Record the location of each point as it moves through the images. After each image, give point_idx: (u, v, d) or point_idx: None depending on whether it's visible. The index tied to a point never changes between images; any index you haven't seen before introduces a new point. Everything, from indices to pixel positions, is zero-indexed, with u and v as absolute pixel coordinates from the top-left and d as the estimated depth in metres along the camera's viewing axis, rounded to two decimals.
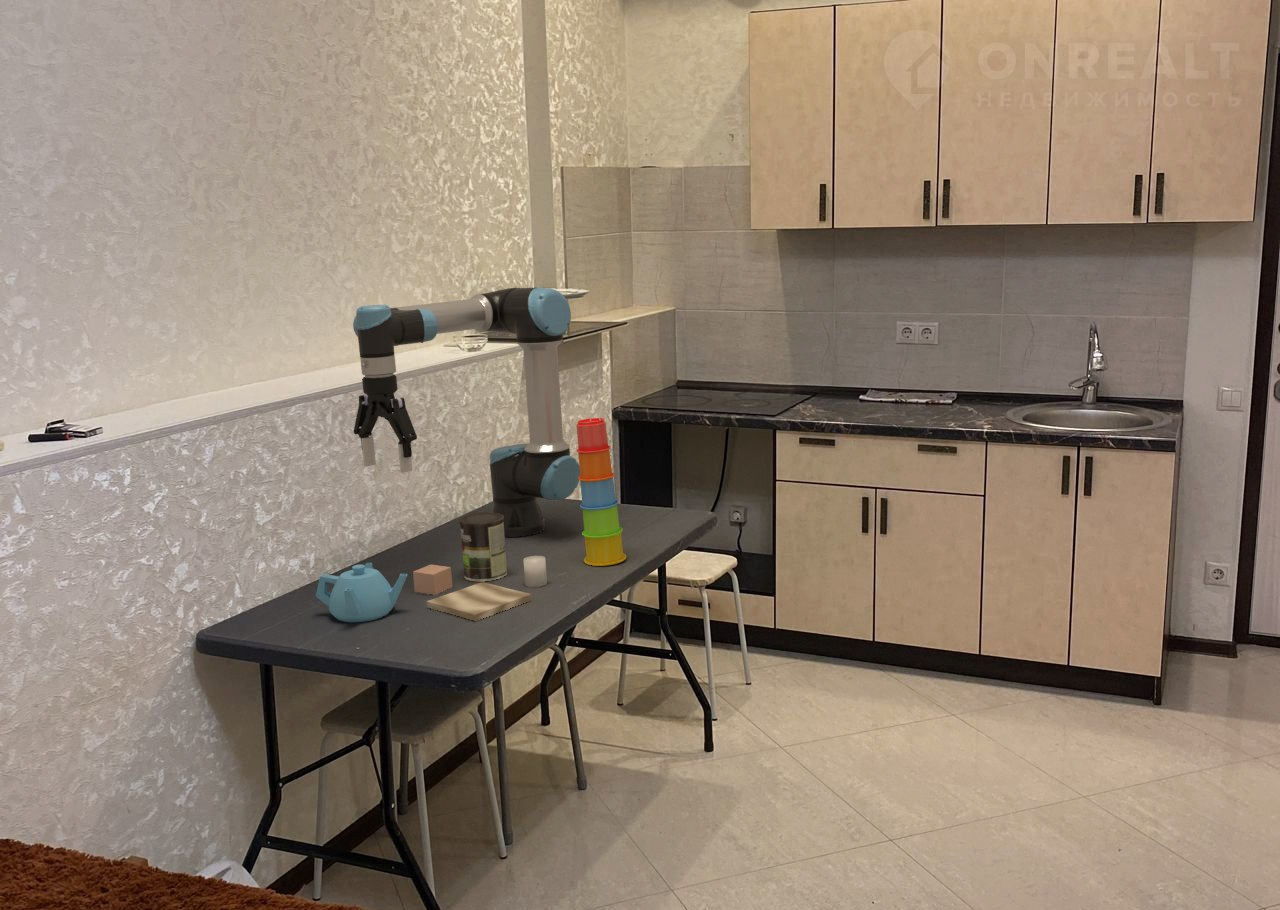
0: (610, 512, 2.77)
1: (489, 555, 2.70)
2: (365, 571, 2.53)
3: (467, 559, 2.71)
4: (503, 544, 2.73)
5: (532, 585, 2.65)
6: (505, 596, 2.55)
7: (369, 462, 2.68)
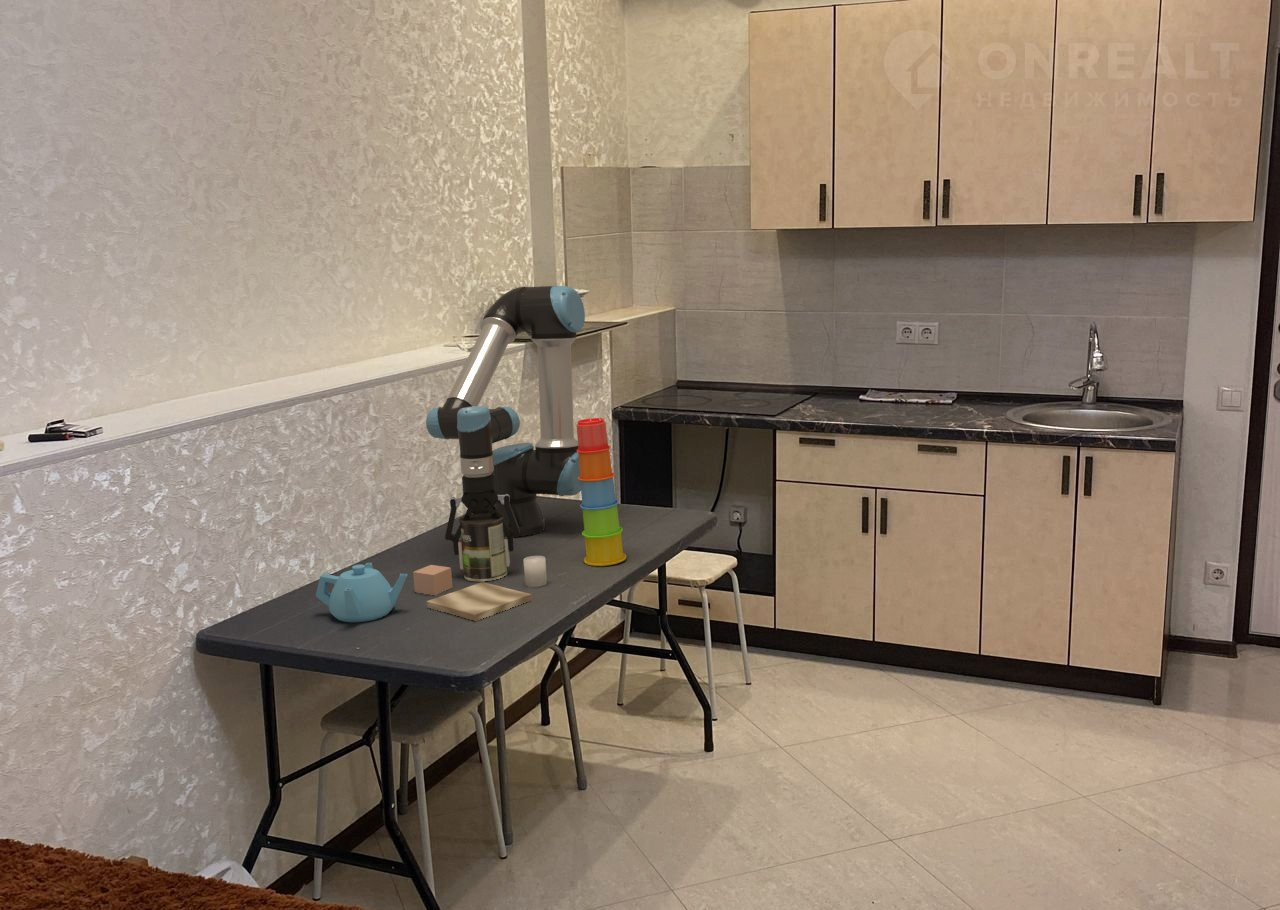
0: (610, 512, 2.77)
1: (489, 555, 2.70)
2: (365, 571, 2.53)
3: (467, 559, 2.71)
4: (503, 544, 2.73)
5: (532, 585, 2.65)
6: (505, 596, 2.55)
7: (463, 564, 2.74)
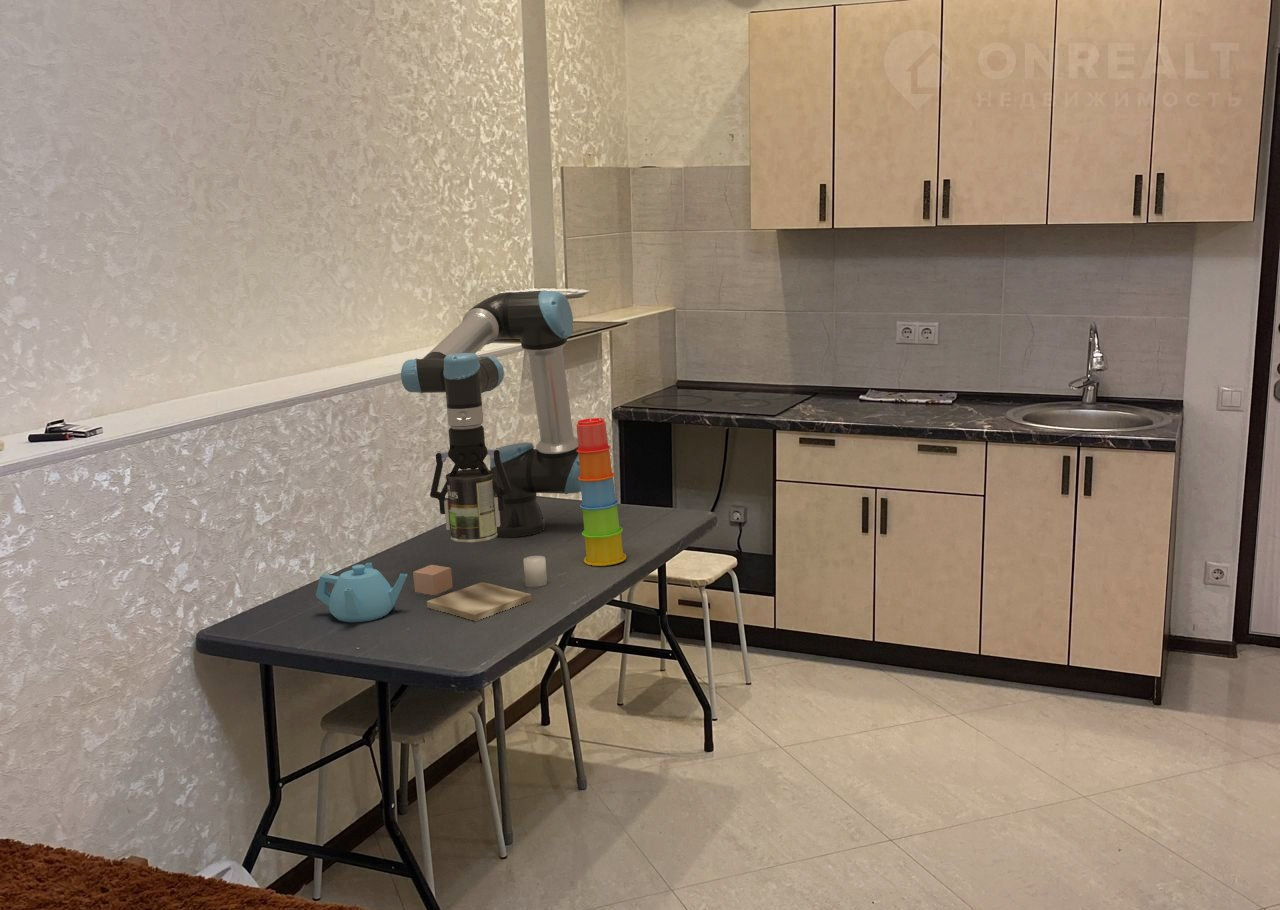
0: (610, 512, 2.77)
1: (477, 513, 2.49)
2: (365, 571, 2.53)
3: (454, 518, 2.51)
4: (493, 502, 2.53)
5: (532, 585, 2.65)
6: (505, 596, 2.55)
7: None
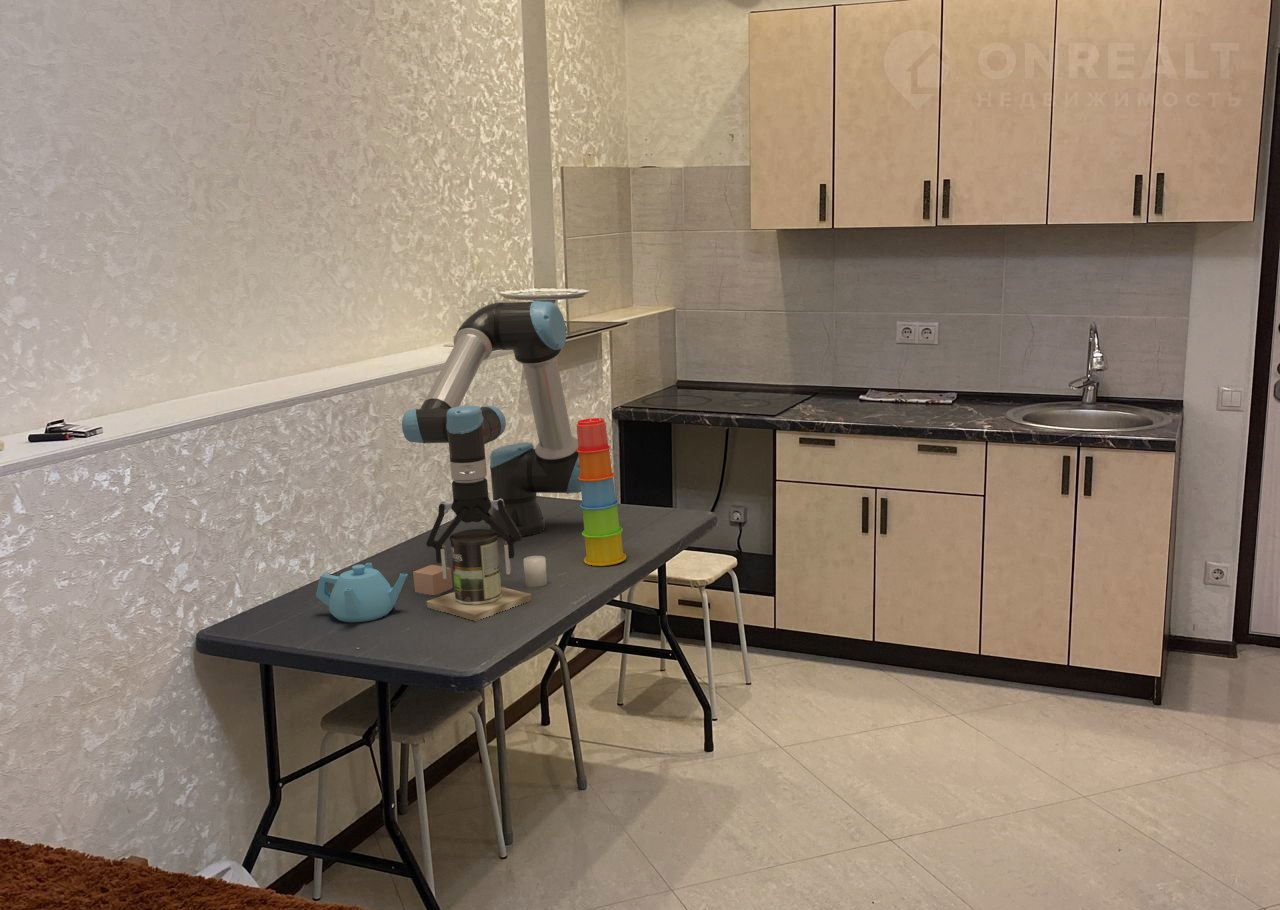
0: (610, 512, 2.77)
1: (482, 576, 2.49)
2: (365, 571, 2.53)
3: (458, 580, 2.50)
4: (497, 564, 2.52)
5: (532, 585, 2.65)
6: (505, 596, 2.55)
7: (446, 573, 2.53)
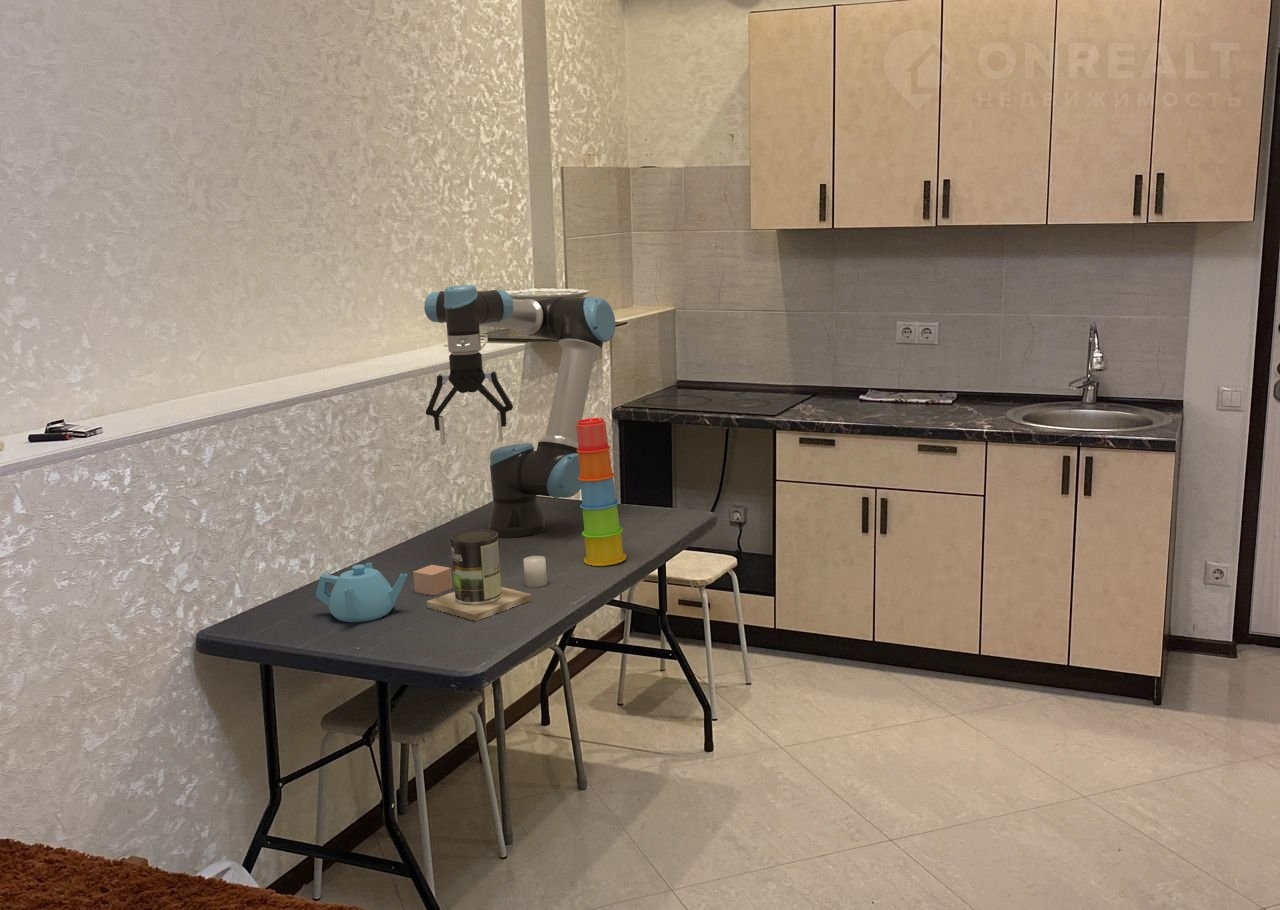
0: (610, 512, 2.77)
1: (482, 576, 2.49)
2: (365, 571, 2.53)
3: (458, 580, 2.50)
4: (497, 564, 2.52)
5: (532, 585, 2.65)
6: (505, 596, 2.55)
7: (444, 440, 2.76)
